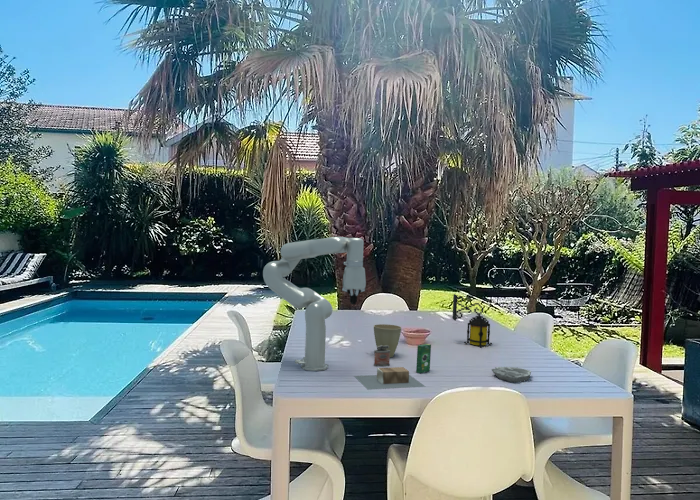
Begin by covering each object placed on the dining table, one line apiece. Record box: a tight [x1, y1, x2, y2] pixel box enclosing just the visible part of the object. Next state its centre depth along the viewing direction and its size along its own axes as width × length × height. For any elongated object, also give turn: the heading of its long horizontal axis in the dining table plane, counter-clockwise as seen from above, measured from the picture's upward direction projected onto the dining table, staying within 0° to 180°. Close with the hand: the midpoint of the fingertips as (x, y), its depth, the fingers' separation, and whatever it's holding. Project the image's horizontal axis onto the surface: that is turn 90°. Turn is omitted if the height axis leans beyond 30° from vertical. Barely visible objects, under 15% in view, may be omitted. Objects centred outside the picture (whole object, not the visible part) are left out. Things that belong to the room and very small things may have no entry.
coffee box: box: [415, 343, 432, 374], centre depth 246 cm, size 8×3×13 cm, turn 137°
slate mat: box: [353, 374, 426, 391], centre depth 225 cm, size 26×20×1 cm
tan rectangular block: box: [376, 366, 410, 384], centre depth 225 cm, size 5×7×12 cm
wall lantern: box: [452, 294, 493, 349], centre depth 312 cm, size 17×24×30 cm
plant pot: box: [373, 323, 402, 359], centre depth 274 cm, size 15×15×16 cm
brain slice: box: [491, 366, 532, 383], centre depth 242 cm, size 20×17×3 cm
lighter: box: [373, 345, 391, 367], centre depth 255 cm, size 8×3×10 cm, turn 105°
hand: (353, 303), depth 239 cm, fingers closed
